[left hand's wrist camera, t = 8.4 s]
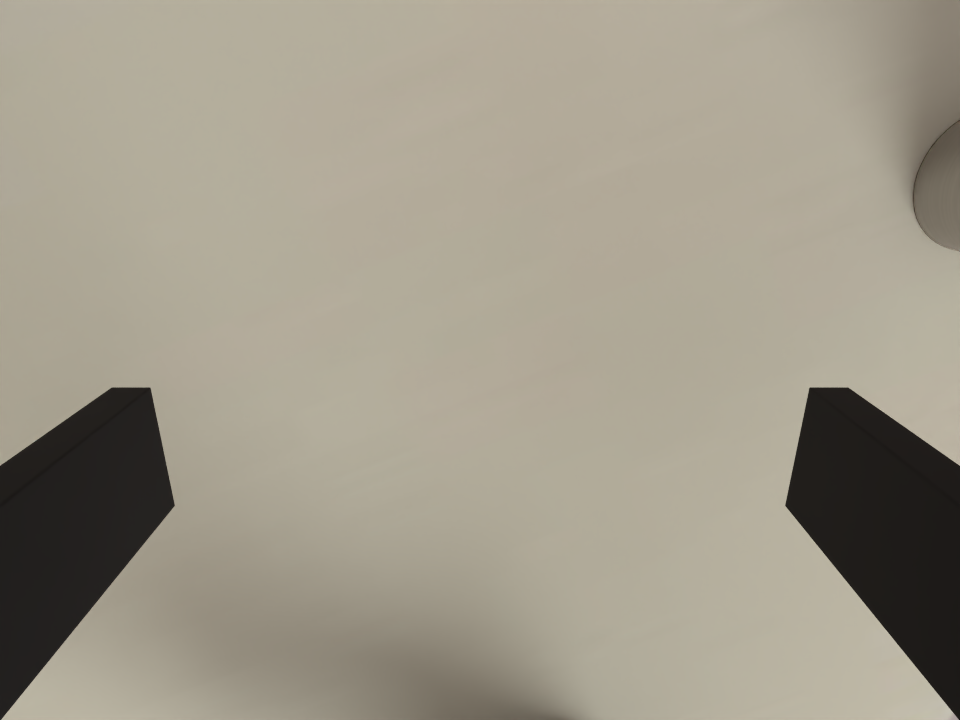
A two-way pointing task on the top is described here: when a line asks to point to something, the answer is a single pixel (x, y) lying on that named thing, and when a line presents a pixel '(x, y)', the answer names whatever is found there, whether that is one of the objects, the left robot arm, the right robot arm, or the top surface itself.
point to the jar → (940, 190)
